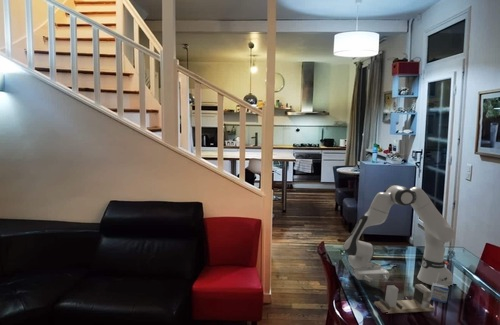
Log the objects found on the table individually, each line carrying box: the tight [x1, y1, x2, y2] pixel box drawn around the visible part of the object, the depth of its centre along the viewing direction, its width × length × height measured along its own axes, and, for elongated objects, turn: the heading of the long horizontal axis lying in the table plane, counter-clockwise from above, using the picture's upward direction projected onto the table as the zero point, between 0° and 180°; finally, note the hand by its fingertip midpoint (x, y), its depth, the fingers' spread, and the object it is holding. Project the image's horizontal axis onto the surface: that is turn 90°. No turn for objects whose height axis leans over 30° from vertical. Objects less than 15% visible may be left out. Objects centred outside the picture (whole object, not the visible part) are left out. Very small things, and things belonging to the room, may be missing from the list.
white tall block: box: [384, 284, 399, 307], centre depth 189 cm, size 4×4×10 cm
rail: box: [373, 283, 435, 314], centre depth 191 cm, size 30×8×11 cm, turn 103°
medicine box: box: [430, 283, 450, 304], centre depth 203 cm, size 8×4×9 cm, turn 69°
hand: (378, 280), depth 201 cm, fingers open, 8 cm apart
